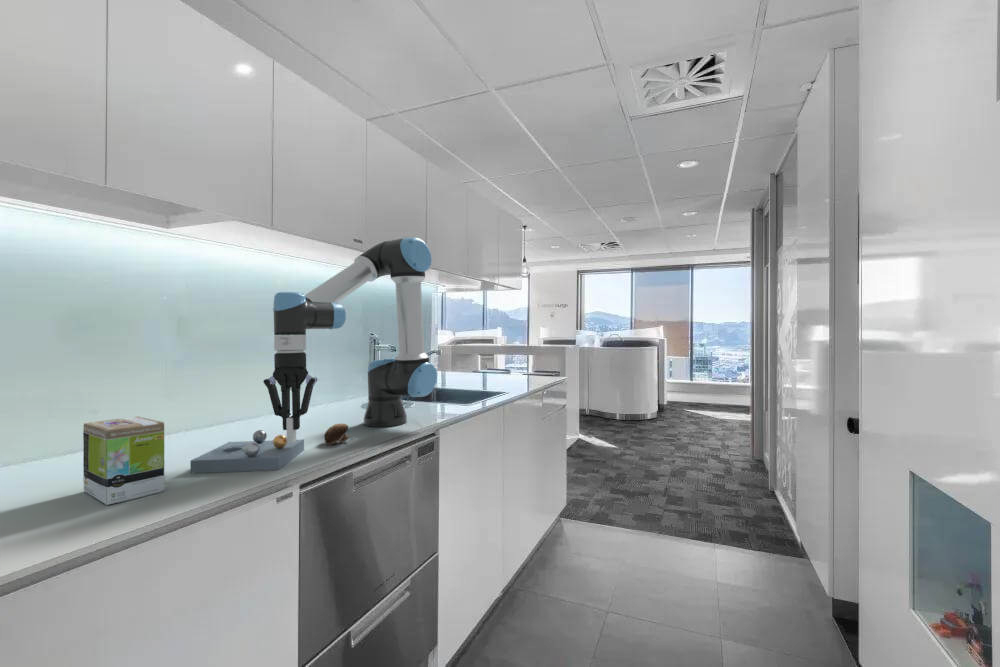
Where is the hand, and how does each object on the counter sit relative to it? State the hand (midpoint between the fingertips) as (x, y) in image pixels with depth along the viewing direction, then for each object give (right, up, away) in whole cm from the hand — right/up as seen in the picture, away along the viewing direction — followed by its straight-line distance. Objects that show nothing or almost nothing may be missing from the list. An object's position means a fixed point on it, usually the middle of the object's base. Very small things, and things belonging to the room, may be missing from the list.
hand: (291, 442), depth 117 cm
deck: (-10, -5, -1) cm, 11 cm away
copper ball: (-3, 0, 0) cm, 3 cm away
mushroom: (+6, -5, +17) cm, 18 cm away
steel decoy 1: (-6, 0, -8) cm, 10 cm away
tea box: (-25, -5, -22) cm, 34 cm away
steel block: (-12, 0, +6) cm, 13 cm away
